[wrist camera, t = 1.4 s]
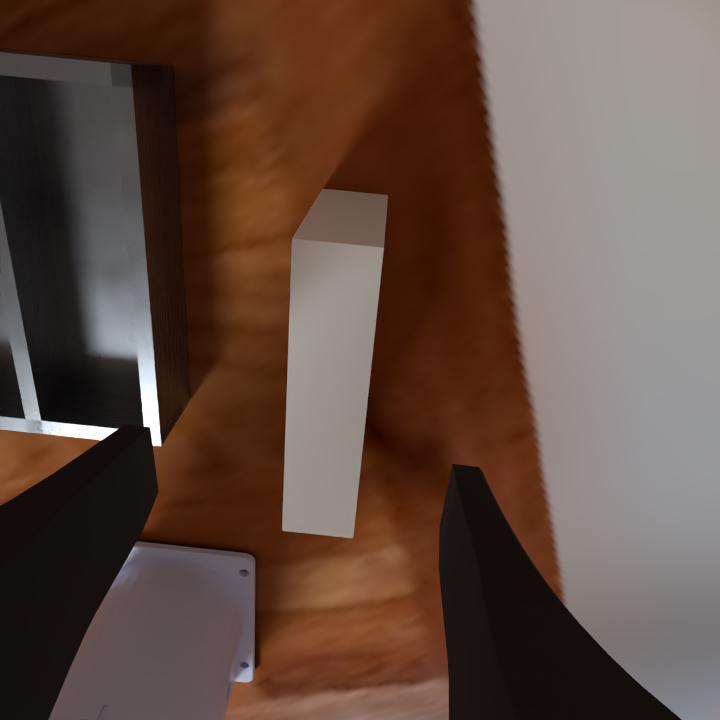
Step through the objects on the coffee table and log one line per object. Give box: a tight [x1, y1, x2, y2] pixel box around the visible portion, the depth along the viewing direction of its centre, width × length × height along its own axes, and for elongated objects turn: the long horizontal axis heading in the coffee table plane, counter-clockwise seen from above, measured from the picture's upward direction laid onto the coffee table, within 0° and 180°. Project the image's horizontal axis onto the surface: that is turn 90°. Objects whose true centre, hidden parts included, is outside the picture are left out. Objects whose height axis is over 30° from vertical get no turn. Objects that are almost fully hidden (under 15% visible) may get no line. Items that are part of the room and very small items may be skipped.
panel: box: [282, 189, 388, 538], centre depth 21 cm, size 10×2×7 cm, turn 175°
